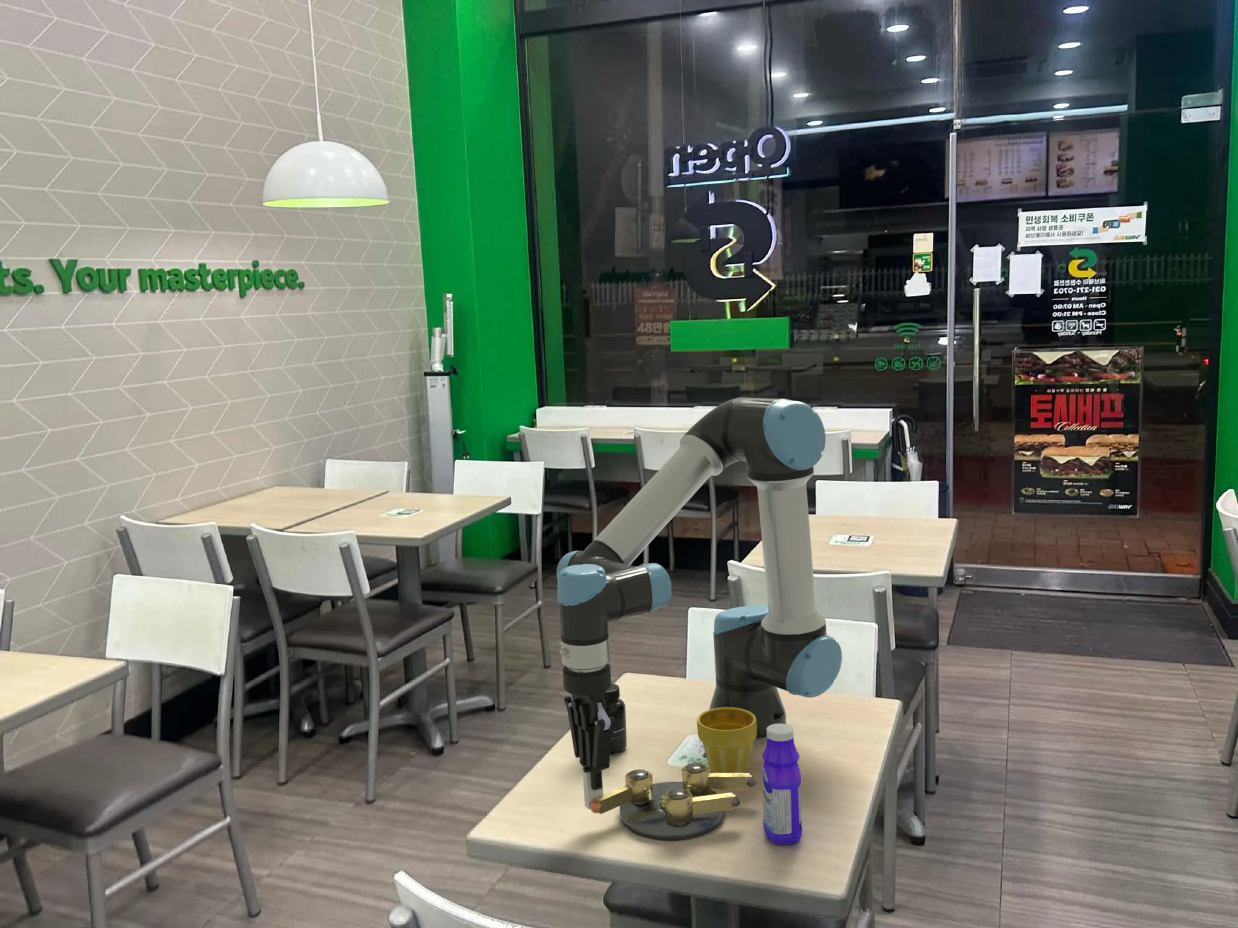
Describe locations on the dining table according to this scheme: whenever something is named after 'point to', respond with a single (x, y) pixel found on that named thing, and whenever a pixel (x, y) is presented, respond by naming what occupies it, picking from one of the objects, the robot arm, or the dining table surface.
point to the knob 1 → (626, 792)
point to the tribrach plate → (654, 825)
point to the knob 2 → (695, 804)
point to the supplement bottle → (616, 718)
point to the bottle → (781, 786)
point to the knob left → (713, 779)
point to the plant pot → (727, 738)
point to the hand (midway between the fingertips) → (594, 804)
